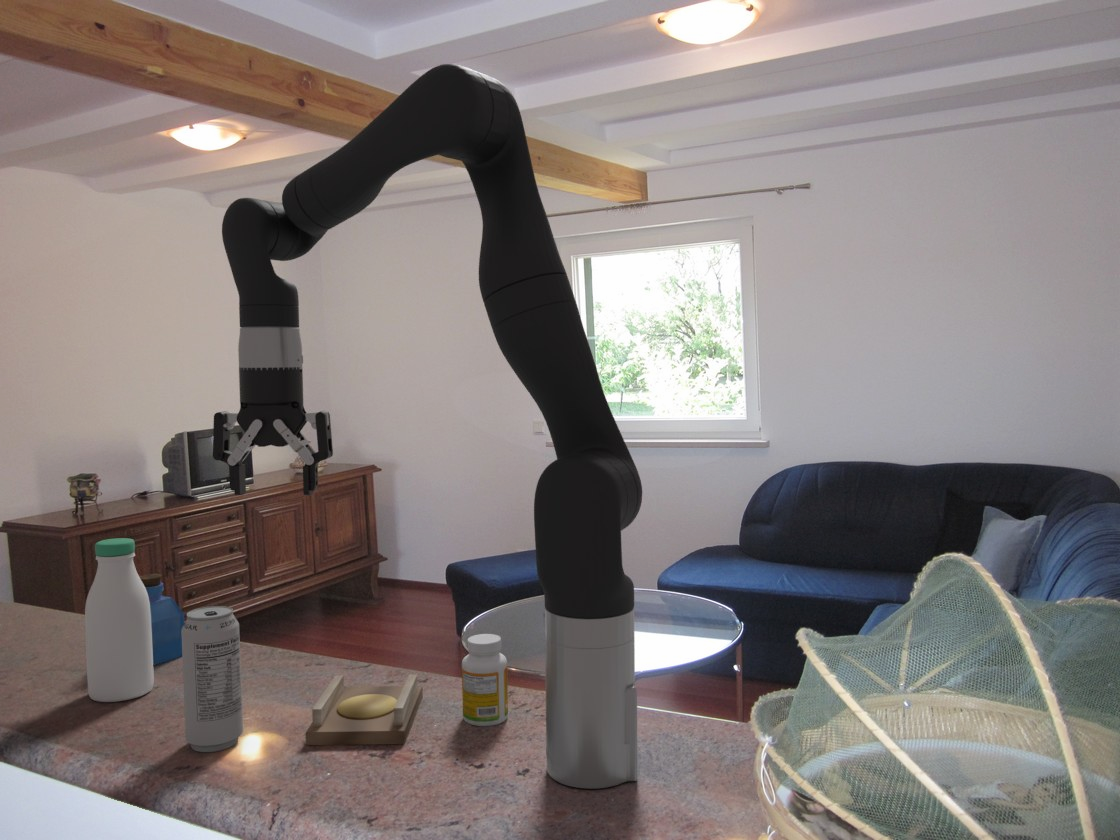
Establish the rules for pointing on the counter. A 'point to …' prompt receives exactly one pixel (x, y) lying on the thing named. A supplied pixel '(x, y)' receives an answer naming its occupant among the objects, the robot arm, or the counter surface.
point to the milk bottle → (118, 626)
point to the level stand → (364, 713)
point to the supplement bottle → (484, 681)
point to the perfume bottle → (163, 621)
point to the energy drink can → (212, 678)
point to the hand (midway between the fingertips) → (274, 494)
